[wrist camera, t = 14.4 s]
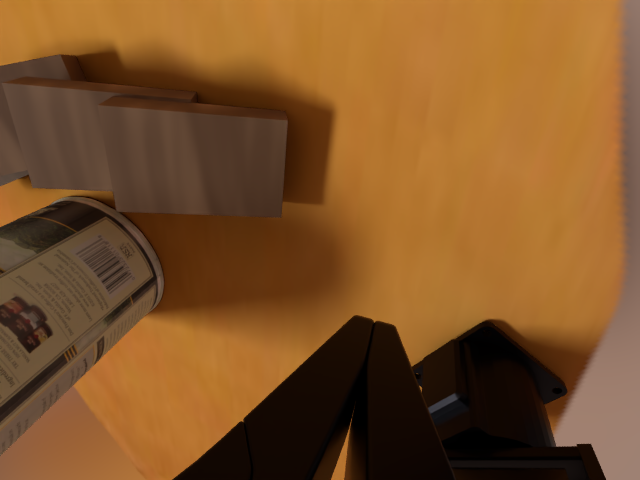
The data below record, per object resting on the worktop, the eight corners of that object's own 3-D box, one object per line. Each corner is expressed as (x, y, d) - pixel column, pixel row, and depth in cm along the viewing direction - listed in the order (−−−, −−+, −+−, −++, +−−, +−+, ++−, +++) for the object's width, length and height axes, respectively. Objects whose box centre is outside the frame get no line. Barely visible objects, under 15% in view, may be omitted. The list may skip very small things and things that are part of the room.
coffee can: (35, 263, 30) (-230, 413, 18) (56, 165, 25) (-303, 288, 13) (142, 337, 31) (-45, 527, 19) (186, 258, 25) (-37, 456, 13)
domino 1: (59, 54, 19) (-113, 88, 18) (103, 153, 21) (-49, 186, 20) (75, 55, 20) (-81, 86, 20) (114, 146, 23) (-25, 177, 22)
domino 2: (190, 99, 18) (1, 82, 17) (196, 195, 20) (32, 187, 19) (196, 91, 20) (25, 76, 18) (201, 181, 22) (51, 173, 21)
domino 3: (287, 120, 17) (97, 105, 16) (281, 217, 20) (116, 211, 18) (285, 110, 19) (113, 96, 17) (279, 201, 21) (128, 194, 20)
